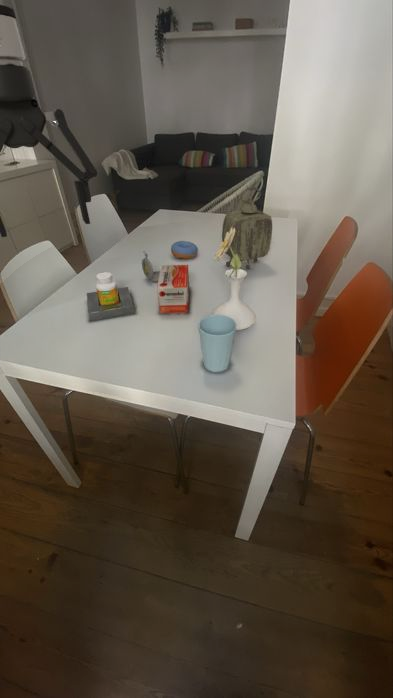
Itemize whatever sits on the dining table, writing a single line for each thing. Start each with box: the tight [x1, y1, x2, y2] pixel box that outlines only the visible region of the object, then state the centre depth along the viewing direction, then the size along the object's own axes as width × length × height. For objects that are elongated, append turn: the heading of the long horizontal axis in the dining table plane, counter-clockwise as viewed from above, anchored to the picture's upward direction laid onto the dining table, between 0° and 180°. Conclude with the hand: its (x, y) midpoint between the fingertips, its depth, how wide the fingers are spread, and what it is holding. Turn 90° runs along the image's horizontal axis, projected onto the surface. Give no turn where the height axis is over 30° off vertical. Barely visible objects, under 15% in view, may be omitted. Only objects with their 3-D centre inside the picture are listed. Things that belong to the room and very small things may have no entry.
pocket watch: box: [141, 250, 160, 283], centre depth 101 cm, size 8×8×10 cm
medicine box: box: [156, 264, 190, 314], centre depth 90 cm, size 15×8×8 cm, turn 1°
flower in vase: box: [211, 227, 256, 332], centre depth 74 cm, size 13×11×25 cm
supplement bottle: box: [95, 271, 121, 306], centre depth 87 cm, size 5×5×10 cm
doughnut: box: [170, 240, 199, 260], centre depth 118 cm, size 10×10×5 cm
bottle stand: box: [86, 286, 135, 322], centre depth 89 cm, size 12×12×2 cm
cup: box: [197, 314, 237, 373], centre depth 67 cm, size 8×8×10 cm
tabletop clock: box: [221, 186, 273, 270], centre depth 103 cm, size 14×9×25 cm, turn 111°
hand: (47, 228), depth 55 cm, fingers open, 13 cm apart
